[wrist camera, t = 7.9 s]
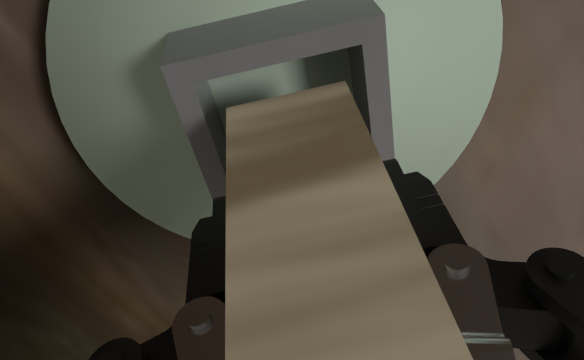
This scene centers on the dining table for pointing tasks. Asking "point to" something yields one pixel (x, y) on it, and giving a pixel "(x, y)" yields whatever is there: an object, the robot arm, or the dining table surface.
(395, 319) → the beige rectangular block
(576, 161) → the dining table surface
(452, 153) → the clip plate
